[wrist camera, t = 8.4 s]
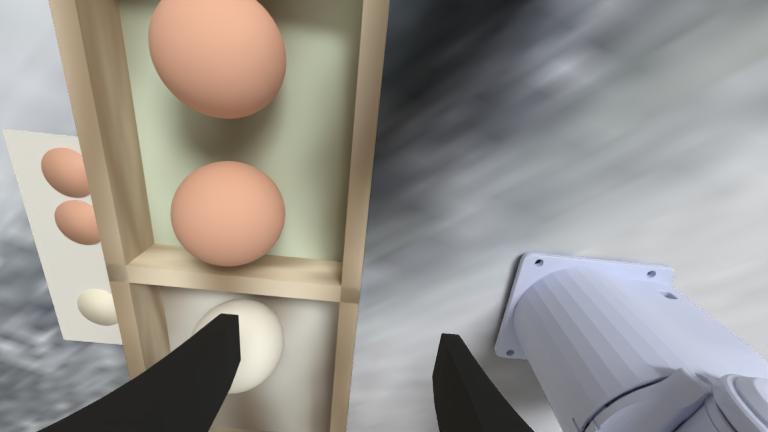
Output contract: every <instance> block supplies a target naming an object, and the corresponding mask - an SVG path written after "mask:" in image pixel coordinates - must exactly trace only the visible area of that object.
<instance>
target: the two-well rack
mask: <svg viewBox="0 0 768 432" xmlns="http://www.w3.org/2000/svg"><path fill="white" fill-rule="evenodd" d="M160 1H161V0H49V5H50V9H51V14H52V19H53V23H54V28H55V33H56V37H57V42H58V46H59V51H60V56H61V60H62V65H63V70H64V74H65V79H66V84H67V88H68V93H69V98H70V102H71V107H72V111H73V116H74V121H75V125H76V130H77V135H78V139H79V144H80V149H81V153H82V158H83V163H84V167H85V172H86V176H87V181H88V186H89V190H90V195H91V200H92V204H93V209H94V214H95V218H96V223H97V228H98V232H99V237H100V241H101V246H102V251H103V255H104V260H105V265H106V269H107V274H108V279H109V283H110V288H111V293H112V297H113V302H114V307H115V311H116V316H117V320H118V325H119V330H120V334H121V339H122V344H123V348H124V353H125V358H126V362H127V367H128V372H129V376H130V381H131V380H132V379H134V378H135V377H137V376H138V375H140V374H141V373H143V372H144V371H146V370H147V369H148V368H150V367H151V366H153V365H154V364H156V363H157V362H158V361H160V360H161V359H163V358H164V357H165V356H167V355H168V354H169V353H171V352H172V351H173V350H175V349H176V348H177V347H179V346H180V345H181V344H182V343H184V342H185V341H186V340H188V339H189V338H190V337H191V335H192V332H193V330H194V328H195V327H196V325H197V323H198V322H199V321H200V319H201V318H202V317H203V316H204V315H205V314H206V313H207V312H208V311H210V310H211V309H212V308H214V307H216V306H217V305H219V304H221V303H224V302H227V301H230V300H235V299H250V300H255V301H258V302H260V303H262V304H264V305H266V306H268V307H269V308H270V309H271V310H272V311H273V312H274V313H275V314H276V315H277V317H278V318H279V320H280V322H281V324H282V327H283V331H284V339H285V341H284V350H283V353H282V357H281V359H280V361H279V364H278V365H277V367H276V369H275V370H274V371H273V373H272V374H271V375H270V376H269V377H268V378H267V379H266V380H265V381H264V382H262V383H261V384H260V385H258V386H256V387H254V388H253V389H250V390H248V391H245V392H241V393H234V394H227V396H226V398H225V400H224V402H223V404H222V406H221V408H220V410H219V412H218V414H217V416H216V418H215V420H214V421H213V423H212V425H211V427H210V429H209V431H208V432H346V424H347V414H348V404H349V394H350V385H351V375H352V365H353V356H354V346H355V336H356V326H357V317H358V307H359V297H360V288H361V278H362V268H363V258H364V249H365V239H366V229H367V220H368V210H369V200H370V190H371V181H372V171H373V161H374V152H375V142H376V132H377V122H378V113H379V103H380V93H381V84H382V74H383V64H384V54H385V45H386V35H387V25H388V16H389V6H390V0H256V1H258V2H259V3H260V4H261V5H262V6H263V7H264V8H265V9H266V10H267V12H268V13H269V14H270V16H271V17H272V18H273V20H274V22H275V23H276V25H277V27H278V29H279V31H280V34H281V36H282V39H283V42H284V45H285V51H286V72H285V77H284V80H283V83H282V86H281V88H280V90H279V92H278V93H277V95H276V96H275V98H274V99H273V100H272V101H271V102H270V103H269V104H268V105H267V106H266V107H264V108H263V109H261V110H260V111H258V112H256V113H254V114H252V115H249V116H246V117H241V118H233V119H225V118H217V117H212V116H208V115H205V114H202V113H200V112H198V111H196V110H194V109H192V108H190V107H189V106H187V105H185V104H184V103H183V102H181V101H180V100H179V99H178V98H177V97H176V96H174V95H173V94H172V93H171V91H170V90H169V89H168V88H167V87H166V86H165V84H164V83H163V82H162V80H161V79H160V77H159V75H158V73H157V72H156V69H155V67H154V65H153V62H152V59H151V56H150V51H149V44H148V31H149V25H150V21H151V18H152V15H153V13H154V11H155V9H156V7H157V5H158V4H159V3H160ZM221 161H236V162H241V163H245V164H248V165H251V166H253V167H256V168H257V169H259V170H261V171H262V172H264V173H265V174H266V175H267V176H268V177H269V178H271V179H272V181H273V182H274V183H275V184H276V186H277V187H278V189H279V191H280V193H281V195H282V198H283V201H284V205H285V223H284V227H283V230H282V233H281V235H280V237H279V239H278V240H277V242H276V243H275V244H274V246H273V247H272V248H271V249H270V250H269V251H268V252H267V253H266V254H264V255H263V256H262V257H260V258H258V259H256V260H254V261H252V262H250V263H247V264H244V265H239V266H230V267H228V266H218V265H213V264H209V263H206V262H203V261H201V260H199V259H198V258H196V257H194V256H193V255H192V254H190V253H189V252H188V251H187V250H186V249H185V248H184V247H183V246H182V245H181V244H180V242H179V241H178V239H177V237H176V235H175V233H174V230H173V227H172V223H171V215H170V213H171V204H172V200H173V197H174V195H175V192H176V190H177V188H178V187H179V185H180V184H181V183H182V181H183V180H184V179H185V178H186V177H187V176H188V175H190V174H191V173H192V172H193V171H195V170H197V169H198V168H200V167H202V166H205V165H208V164H210V163H214V162H221Z"/></svg>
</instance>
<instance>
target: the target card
mask: <svg viewBox="0 0 768 432" xmlns="http://www.w3.org/2000/svg"><path fill="white" fill-rule="evenodd" d="M2 131H3V134H4V138H5V141H6V145H7V148H8V151H9V155H10V158H11V162H12V165H13V168H14V172H15V175H16V179H17V182H18V185H19V189H20V192H21V196H22V199H23V202H24V206H25V209H26V213H27V216H28V219H29V223H30V226H31V230H32V233H33V236H34V240H35V243H36V247H37V250H38V253H39V257H40V260H41V264H42V267H43V270H44V274H45V277H46V281H47V284H48V287H49V291H50V294H51V298H52V301H53V304H54V308H55V311H56V315H57V318H58V321H59V325H60V328H61V332H62V335H63V338H64V340H74V341H86V342H98V343H109V344H121V345H123V344H122V339H121V334H120V330H119V325H118V320H117V316H116V311H115V307H114V302H113V297H112V293H111V288H110V283H109V279H108V274H107V269H106V265H105V260H104V255H103V251H102V246H101V241H100V237H99V232H98V228H97V223H96V218H95V214H94V209H93V204H92V200H91V195H90V190H89V186H88V181H87V176H86V172H85V167H84V163H83V158H82V153H81V149H80V144H79V139H78V137H76V136H67V135H58V134H49V133H39V132H30V131H21V130H12V129H5V130H2Z"/></svg>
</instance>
